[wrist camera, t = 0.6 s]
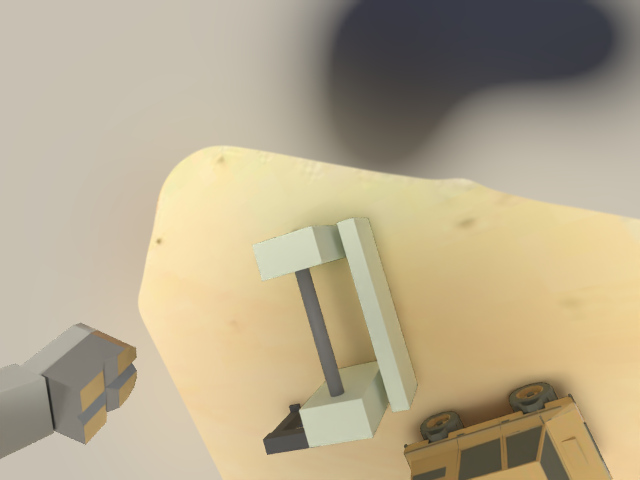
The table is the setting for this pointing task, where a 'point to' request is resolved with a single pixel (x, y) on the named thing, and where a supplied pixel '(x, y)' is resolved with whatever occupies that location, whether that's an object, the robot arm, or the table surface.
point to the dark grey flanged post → (287, 434)
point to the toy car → (511, 443)
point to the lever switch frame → (341, 384)
